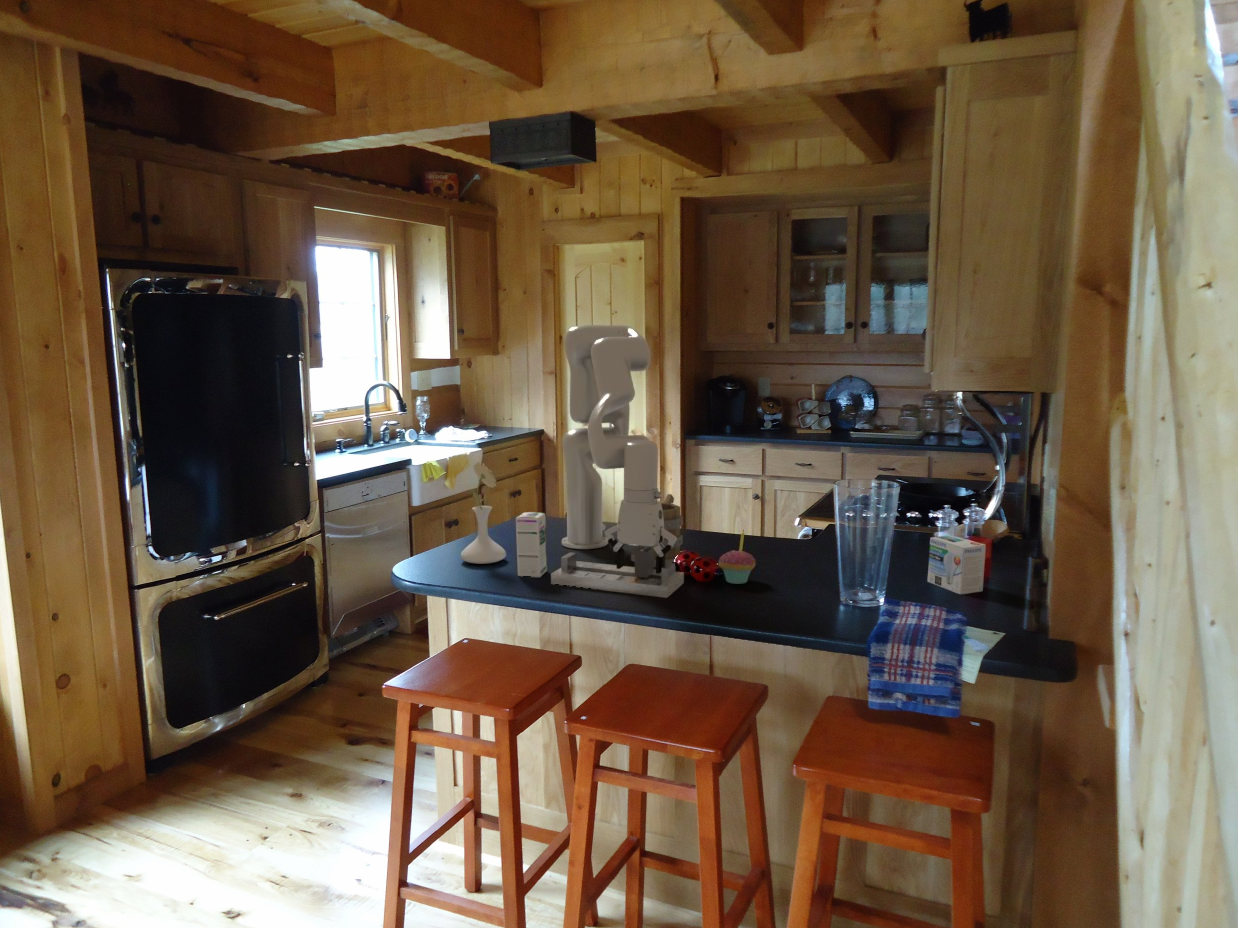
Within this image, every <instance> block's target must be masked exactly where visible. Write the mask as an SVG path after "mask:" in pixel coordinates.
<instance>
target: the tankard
mask: <svg viewBox="0 0 1238 928" xmlns="http://www.w3.org/2000/svg"><path fill="white" fill-rule="evenodd" d="M674 502H675V497H674V495H672V494H670V493H667V494H666V497H665V499H664V501H663V502H661V505H662V510H663V519H664V529H665V530H667V531H668V532H670V533H671V534H673V535H674V536H676V537H677V541H676V542H675V544H674V546H673V548H672V549H671V550H670V551H668V552H667V553H666V554H665V565H666V564H667V563H672V562H673V560H674V559H675V557H676V556H677V555H678V554H679V553H683V552H682V551H681V545H683V543H684V542H683V538H684V537H683V535H682V534H681V527H682V526H683V525H684V522H683V521H684V517H683V515H681V506H680V505H677V504H675V503H674ZM662 544H663V545H664V547H665V546H667V544H668V540H667V539H666V538H664V541H663V542H662ZM639 547H641V546H636V549H638V548H639ZM657 556H658V554H657V553H656V551H655V550H654V568H656V557H657ZM630 560H631V562H634V563H635V552H632V554H630Z"/></svg>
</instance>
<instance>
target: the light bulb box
mask: <svg viewBox="0 0 1238 928" xmlns="http://www.w3.org/2000/svg"><path fill="white" fill-rule="evenodd" d="M986 546H987V545H986V544H985V543H980V542H979V541H978V542H977V541H973V540H971V539H968V538H963V537H960V536H957V535H953V534H947V535H941V536H932V537H930V540H929V555H928V556H929V557H928V570H927V583H929V584H932V585H935V586H937V587H940V588H942V589H945V590H947V591H949V592H953V593H955V594H959V595H966V594H972V593H981V592H983V589H984V575H985V574H984V573H985V560H986V548H987V547H986Z"/></svg>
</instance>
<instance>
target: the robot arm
mask: <svg viewBox="0 0 1238 928" xmlns="http://www.w3.org/2000/svg"><path fill="white" fill-rule="evenodd" d="M564 350H565V356H566V358H567V362H568V366H569V371H570V374H569V375H570V378H569V414H570V419H571V420H572V421H573V422H574V423H577V424H583V425H585V424H587V427H578V428H574V429H571V430H568V431H567V432H566V433H565V434H564V436H563V439H562V451H563V455H564V456H563V457H564V461H565V472H566V474H565V475H566V526H567V527H566V528H567V529H566V536H565V537H563V538H562V539H561V545H562V546H563V547H566V548H568V549H576V550H592V549H593V550H594V549H599V548H603V547H605V546H607V545H610V547H612V550H613V552H615V553H614V565H617V569H620V568H622V567H623V566H626V565H625V563H626V561H625V557H626V556H625V554H626V553H625V548H624V546H627V545H628V546H636V547H637V546H643V547H653V548H654V550H655V551H656V553H657V554H658V556H657V557H656V567H655V569H656V574H659V573H661V572H662V567H664V566H665V554H666V553H667V552H668V551H670V550H671V549H672V548H673V546H674V544H675V542H676V541H677V537H676V536H674V535H673V534H671V533H670V532H668V531H667V530H665V529H664V519H663V510H662V505H661V503H662V502H661V501H660V500H659V499H663V497H664V492H662V491H659V487H658V474H659V473H658V471H659V469H658V468H659V466H658V465H659V464H658V463H659V461H658V459H659V448H658V447H659V446H658V444H657V443H656V442H655V441H653V440H650V438H648V437H647V436H646V435H644V434H643V435H642V434H634V435H633V434H630V435H629V433H630V432H629V431H630V430H629V429H630V415H631V414H630V403H631V402H632V401H633V400H634V398H635V395H636V391H635V386H634V383H633V379H632V378H633V377H632V374H631V372H643V371H646V370H647V369H648V368H649V367H650V364H651V359H652V358H651V357H652V355H651V350H650V346H649V344H648V341H647V340H646V338H645V337H643V335H641V333H639V332H638V331H637V330H636V329H634V328H633V327H632V326H629V325H622V324H621V325H620V324H615V325H614V324H611V325H610V324H609V325H607V324H603V325H602V324H585V325H576V326H572V327H571V328H568V330H567V332H566V334H565V336H564ZM603 424H609V425H608V426H604V427H603ZM594 464H595V465H596V467H597V468H599V469H602V470H613V469H615V470H616V469H623V499H622V500H621V501H620V506H619V511H618V516H617V524H616V525H614V526H612V527H610V528H608V529H606V524H605V523H603V480H602V476H601V475H600V473H599V472H598V471H597V469H596V468H595V467H594V466H593V465H594ZM605 529H606V530H605ZM603 531H604V532H603ZM614 533H616V538H615V537H614ZM603 534H604V536H603ZM664 538H666V539H667V540H668V544H667V546H665V547H664V545H663V544H662V542H663V541H664Z"/></svg>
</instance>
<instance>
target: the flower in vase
mask: <svg viewBox="0 0 1238 928" xmlns="http://www.w3.org/2000/svg"><path fill="white" fill-rule="evenodd" d="M472 466H473V470H474V474H476V476H477V478H478V479H479V482H478V484H477V487H476V492H475V491H473V493H472V497H473V498H475V499H476V500H477V501H478V504H479V505H478V506H473V507H472V508H471V509H472V511H473V512H474V514H475V516H476V521H477V529H478V532H477V536H476V538H475V539H474V540H473V541H472V542H470V543H469V544H468V545H467V546H466V547H465V548H464V549H463V550H462V551H461V554H460V558H461V560H462V561H465V562H467V563H470V564H476V565H477V564H478V565H480V564H481V565H483V564H485V565H486V564H487V565H488V564H492V563H493V564H494V563H498V562H500V561H502V560H504V559H505V557H506V556H507V552H506V550H505V549H504V548H503V546H501V545H499V543H497V542H495V541H494V540H493V539H492V538H491V537H490V536H489V533H488V523H489V521H488V520H489V516H490V512H491V511H492V510H493V507H492V506H491V505H482V504H481V502H483V501H484V500H486V499H487V498H489V497H490V496H489V494H487V495H486V496H485V497H483V498H482V499H480V496H479V488H480V485H481V482H482V483H483V484H484V485H485V486H487V487H489V488H492V489H493V488H495V487H497V484H496V482H497V479H496V478H495V475H494V474H493V471H492V470H491V469H489V467H488V466H486V465H485V463H483V462H482V463H481V462H480V461H476V463H475V462H474V464H473V465H472Z"/></svg>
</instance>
